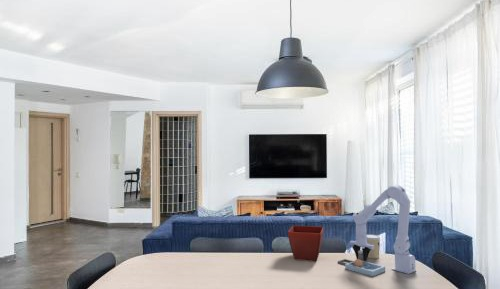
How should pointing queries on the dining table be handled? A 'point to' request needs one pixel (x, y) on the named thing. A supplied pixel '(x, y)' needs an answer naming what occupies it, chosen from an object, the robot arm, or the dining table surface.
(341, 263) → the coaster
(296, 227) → the plant pot
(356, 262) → the ball
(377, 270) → the tray
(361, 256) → the shaker
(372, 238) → the coffee cup
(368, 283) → the dining table surface
